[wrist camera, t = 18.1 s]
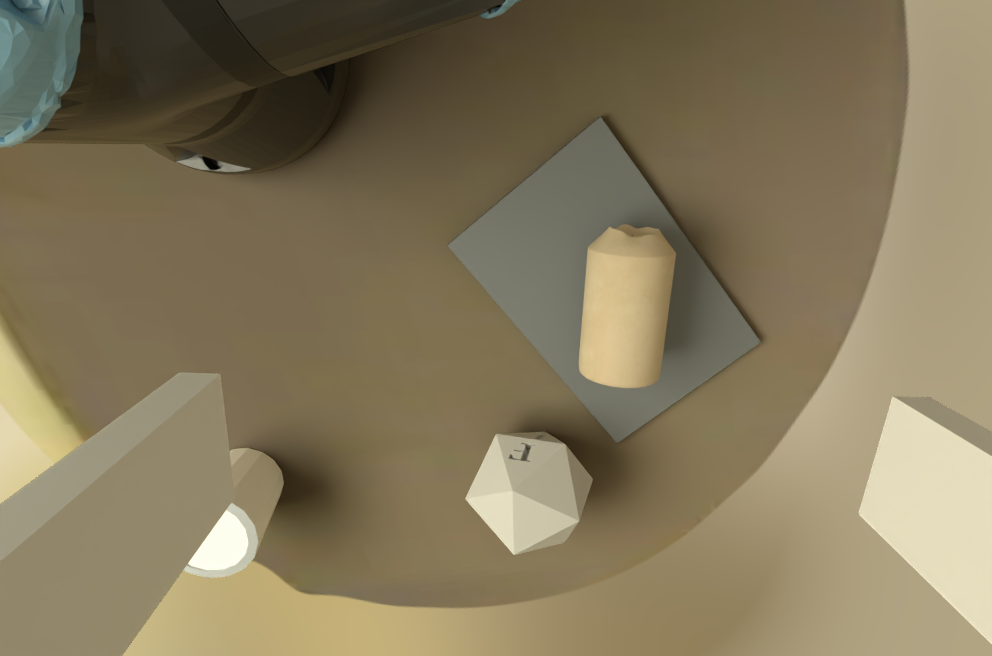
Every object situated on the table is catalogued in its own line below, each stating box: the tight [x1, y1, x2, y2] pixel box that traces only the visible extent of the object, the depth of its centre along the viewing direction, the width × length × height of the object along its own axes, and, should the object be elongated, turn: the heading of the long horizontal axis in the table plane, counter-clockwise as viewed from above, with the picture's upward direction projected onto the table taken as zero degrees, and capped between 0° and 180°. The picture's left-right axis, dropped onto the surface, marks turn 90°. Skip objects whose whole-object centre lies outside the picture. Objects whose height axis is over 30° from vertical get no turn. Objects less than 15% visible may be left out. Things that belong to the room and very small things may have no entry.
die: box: [465, 431, 593, 555], centre depth 40 cm, size 8×9×10 cm
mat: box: [448, 117, 761, 443], centre depth 39 cm, size 20×13×1 cm, turn 39°
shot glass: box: [184, 448, 284, 578], centre depth 41 cm, size 7×7×7 cm
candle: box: [579, 224, 676, 388], centre depth 36 cm, size 6×6×10 cm
